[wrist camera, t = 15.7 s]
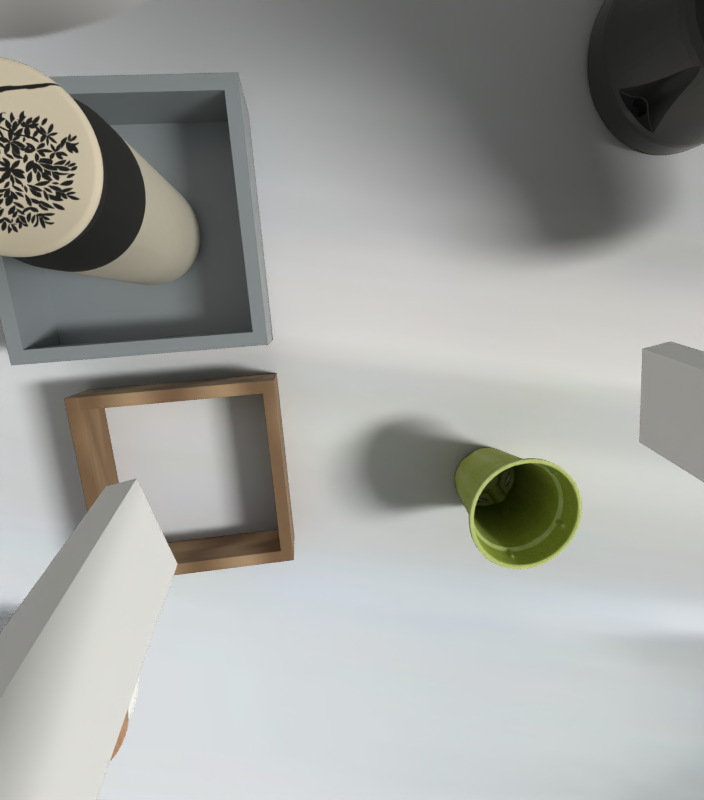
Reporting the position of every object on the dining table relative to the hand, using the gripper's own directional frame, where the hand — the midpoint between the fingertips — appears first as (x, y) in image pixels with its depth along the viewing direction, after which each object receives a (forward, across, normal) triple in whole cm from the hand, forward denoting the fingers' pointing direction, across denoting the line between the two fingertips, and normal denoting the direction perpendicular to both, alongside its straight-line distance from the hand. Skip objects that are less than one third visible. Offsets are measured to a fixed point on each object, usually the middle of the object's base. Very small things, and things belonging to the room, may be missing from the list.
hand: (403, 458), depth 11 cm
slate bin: (+30, -13, +8) cm, 34 cm away
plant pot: (+27, +11, -20) cm, 35 cm away
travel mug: (+30, -12, +8) cm, 33 cm away
